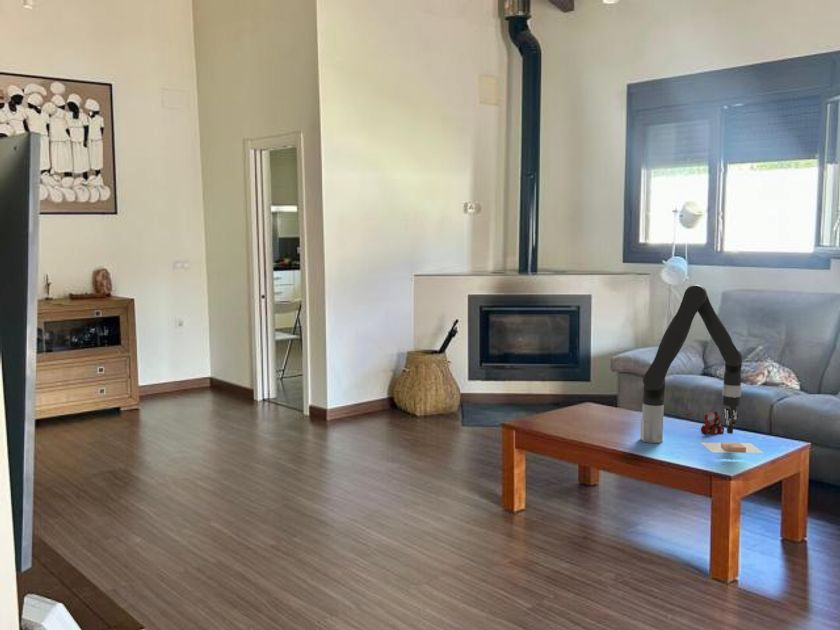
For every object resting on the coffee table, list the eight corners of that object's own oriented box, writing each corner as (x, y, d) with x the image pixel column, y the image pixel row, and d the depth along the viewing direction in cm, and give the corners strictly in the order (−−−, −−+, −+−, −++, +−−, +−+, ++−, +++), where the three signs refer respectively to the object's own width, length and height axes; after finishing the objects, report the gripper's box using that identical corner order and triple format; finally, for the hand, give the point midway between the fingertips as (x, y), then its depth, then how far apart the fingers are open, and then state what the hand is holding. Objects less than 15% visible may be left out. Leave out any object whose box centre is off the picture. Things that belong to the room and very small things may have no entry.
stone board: (712, 454, 337) (712, 452, 337) (700, 444, 353) (700, 442, 353) (764, 455, 336) (764, 453, 336) (749, 445, 352) (750, 443, 352)
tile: (720, 446, 347) (727, 451, 339) (720, 442, 347) (727, 447, 339) (739, 446, 347) (745, 451, 339) (739, 442, 346) (746, 447, 338)
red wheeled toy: (726, 433, 374) (727, 411, 373) (711, 437, 366) (712, 415, 365) (713, 430, 379) (713, 409, 378) (698, 434, 371) (699, 412, 370)
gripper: (717, 391, 351) (716, 429, 353) (727, 397, 338) (726, 437, 340) (735, 391, 351) (733, 429, 353) (745, 397, 338) (743, 437, 340)
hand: (729, 433), depth 346 cm, fingers closed
